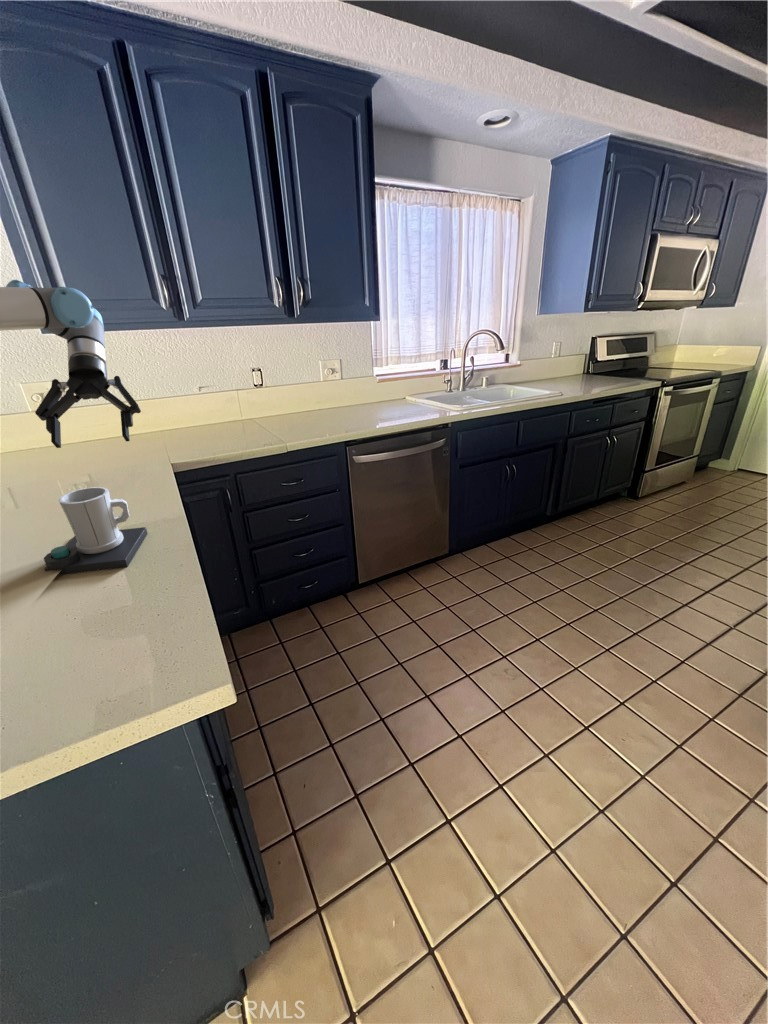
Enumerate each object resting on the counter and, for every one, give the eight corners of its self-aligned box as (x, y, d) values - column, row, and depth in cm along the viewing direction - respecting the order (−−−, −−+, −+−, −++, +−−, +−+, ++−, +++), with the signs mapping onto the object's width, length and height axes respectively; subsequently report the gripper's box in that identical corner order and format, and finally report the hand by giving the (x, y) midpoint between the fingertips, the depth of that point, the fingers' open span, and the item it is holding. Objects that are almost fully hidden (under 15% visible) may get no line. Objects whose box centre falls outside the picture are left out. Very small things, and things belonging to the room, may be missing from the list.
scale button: (50, 560, 86) (47, 553, 85) (57, 553, 89) (54, 546, 88) (66, 558, 87) (63, 551, 86) (72, 551, 89) (69, 545, 88)
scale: (44, 578, 86) (38, 563, 84) (77, 541, 99) (72, 528, 98) (127, 568, 89) (122, 553, 87) (147, 534, 102) (144, 520, 101)
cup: (112, 529, 101) (97, 481, 95) (140, 535, 97) (125, 487, 92) (68, 550, 92) (48, 499, 87) (97, 558, 89) (78, 506, 84)
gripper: (149, 371, 109) (157, 443, 103) (33, 377, 101) (34, 456, 95) (141, 350, 102) (149, 427, 96) (16, 355, 94) (15, 438, 88)
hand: (91, 441), depth 95 cm, fingers open, 13 cm apart
